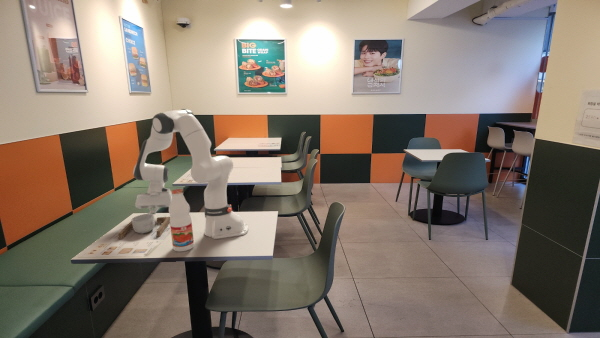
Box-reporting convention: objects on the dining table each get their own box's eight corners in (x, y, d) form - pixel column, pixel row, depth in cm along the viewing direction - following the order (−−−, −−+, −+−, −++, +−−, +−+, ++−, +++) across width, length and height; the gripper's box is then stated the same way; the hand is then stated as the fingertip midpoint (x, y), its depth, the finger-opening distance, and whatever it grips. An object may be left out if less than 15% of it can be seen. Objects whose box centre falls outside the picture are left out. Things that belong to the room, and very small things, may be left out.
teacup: (147, 236, 169) (145, 221, 167) (128, 234, 171) (126, 220, 170) (163, 225, 182) (161, 211, 181) (145, 224, 185) (144, 210, 183)
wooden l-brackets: (170, 221, 188) (170, 216, 187) (160, 236, 168) (159, 230, 168) (134, 224, 186) (133, 219, 185) (119, 239, 166) (118, 233, 166)
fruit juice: (192, 241, 161) (186, 186, 155) (196, 249, 153) (189, 191, 147) (171, 245, 157) (164, 189, 151) (174, 253, 149) (167, 194, 143)
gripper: (135, 190, 191) (131, 212, 184) (172, 188, 193) (169, 210, 186) (139, 196, 196) (135, 217, 189) (174, 194, 198) (172, 215, 191)
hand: (152, 214), depth 187 cm, fingers closed
